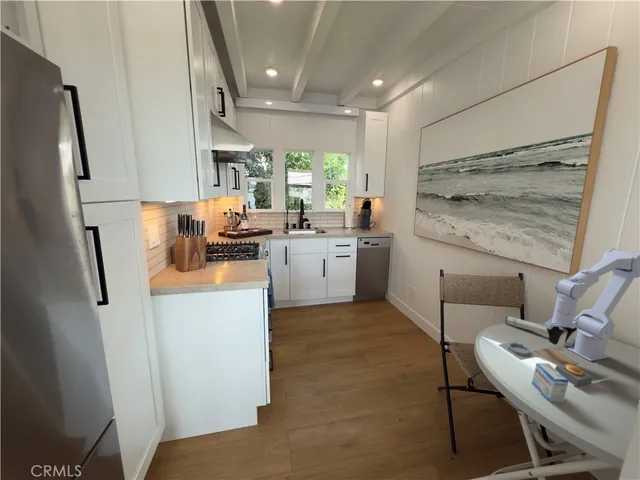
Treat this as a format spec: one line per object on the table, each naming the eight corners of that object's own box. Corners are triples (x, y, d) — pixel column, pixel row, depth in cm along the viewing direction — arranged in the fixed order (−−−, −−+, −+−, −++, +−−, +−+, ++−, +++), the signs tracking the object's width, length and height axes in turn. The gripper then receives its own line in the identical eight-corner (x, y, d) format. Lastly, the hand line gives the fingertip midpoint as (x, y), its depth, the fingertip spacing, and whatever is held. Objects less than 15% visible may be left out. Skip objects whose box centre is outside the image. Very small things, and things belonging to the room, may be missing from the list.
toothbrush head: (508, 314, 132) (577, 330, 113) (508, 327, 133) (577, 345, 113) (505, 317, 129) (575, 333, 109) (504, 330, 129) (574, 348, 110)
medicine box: (530, 384, 92) (535, 362, 90) (544, 384, 92) (548, 362, 90) (549, 402, 84) (554, 379, 82) (563, 403, 84) (569, 379, 82)
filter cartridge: (554, 343, 107) (558, 325, 105) (566, 350, 103) (570, 331, 101) (546, 345, 106) (550, 327, 104) (558, 351, 102) (562, 333, 100)
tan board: (550, 348, 111) (550, 347, 111) (577, 364, 102) (578, 363, 102) (533, 351, 109) (533, 350, 109) (560, 368, 100) (560, 367, 100)
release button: (569, 372, 97) (571, 363, 96) (584, 381, 93) (587, 372, 92) (560, 374, 96) (562, 366, 95) (574, 383, 92) (577, 374, 91)
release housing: (568, 370, 99) (570, 363, 98) (591, 383, 92) (593, 376, 91) (554, 373, 97) (555, 366, 96) (576, 387, 90) (578, 379, 90)
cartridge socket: (516, 342, 116) (517, 339, 115) (539, 356, 106) (540, 353, 106) (497, 345, 113) (498, 342, 113) (520, 360, 104) (520, 357, 103)
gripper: (561, 318, 95) (554, 351, 98) (591, 313, 99) (583, 345, 102) (541, 309, 102) (535, 340, 105) (569, 305, 105) (562, 335, 108)
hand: (557, 342), depth 104 cm, fingers closed on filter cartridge, 4 cm apart
